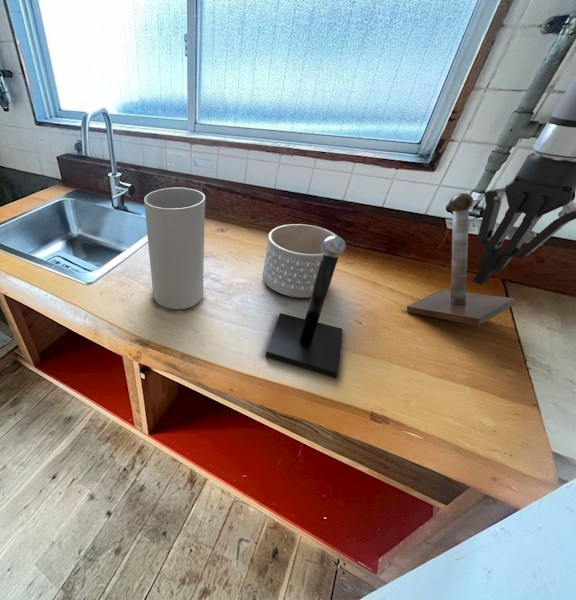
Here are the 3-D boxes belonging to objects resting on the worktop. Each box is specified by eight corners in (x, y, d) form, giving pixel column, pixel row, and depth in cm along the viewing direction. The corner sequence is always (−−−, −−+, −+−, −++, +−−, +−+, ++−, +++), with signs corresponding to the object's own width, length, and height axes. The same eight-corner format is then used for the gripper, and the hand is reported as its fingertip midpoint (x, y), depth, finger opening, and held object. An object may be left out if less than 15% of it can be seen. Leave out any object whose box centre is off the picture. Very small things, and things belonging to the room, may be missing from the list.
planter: (249, 282, 84) (254, 238, 77) (285, 260, 93) (293, 218, 85) (305, 310, 74) (318, 263, 67) (340, 283, 83) (355, 238, 75)
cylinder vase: (212, 299, 79) (217, 200, 64) (168, 317, 74) (162, 214, 59) (185, 276, 88) (184, 184, 72) (144, 291, 83) (134, 195, 68)
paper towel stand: (440, 294, 78) (509, 316, 67) (405, 311, 73) (473, 337, 62) (471, 186, 66) (561, 192, 55) (433, 198, 62) (522, 207, 51)
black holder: (337, 378, 59) (266, 366, 65) (342, 333, 68) (279, 327, 74) (343, 255, 46) (253, 255, 52) (348, 220, 55) (271, 224, 61)
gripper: (633, 160, 46) (530, 292, 61) (522, 144, 56) (455, 262, 70) (612, 168, 44) (509, 304, 58) (499, 150, 53) (435, 271, 67)
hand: (480, 281), depth 64 cm, fingers closed
